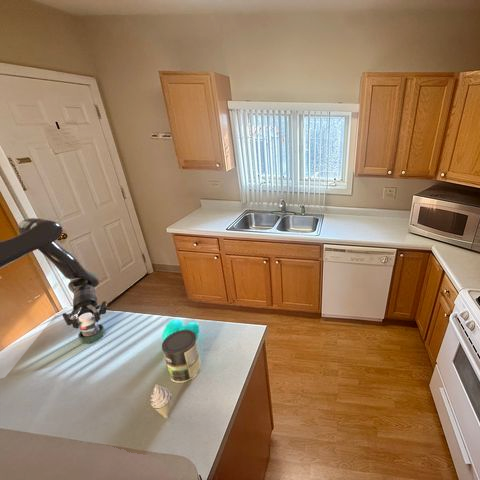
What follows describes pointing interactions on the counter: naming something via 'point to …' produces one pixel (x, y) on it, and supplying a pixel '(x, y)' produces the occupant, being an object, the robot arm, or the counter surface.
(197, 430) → the counter surface
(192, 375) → the coffee can
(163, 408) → the ice cream cone
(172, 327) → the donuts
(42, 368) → the counter surface
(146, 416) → the counter surface
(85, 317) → the pill bottle
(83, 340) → the tin
